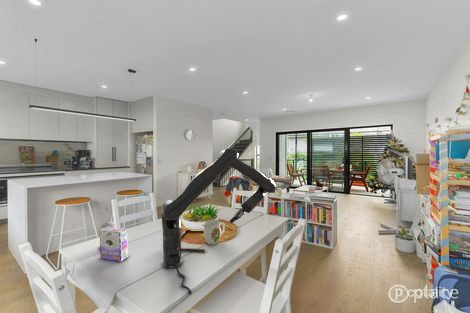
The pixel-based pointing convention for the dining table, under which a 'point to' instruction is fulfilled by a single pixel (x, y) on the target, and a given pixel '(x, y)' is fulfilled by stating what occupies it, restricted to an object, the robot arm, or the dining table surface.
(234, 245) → the dining table surface
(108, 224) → the french press
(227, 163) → the robot arm
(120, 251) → the candy box
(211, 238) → the pitcher
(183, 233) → the bay
